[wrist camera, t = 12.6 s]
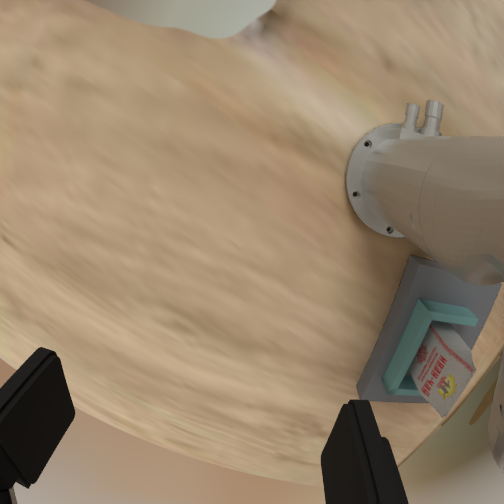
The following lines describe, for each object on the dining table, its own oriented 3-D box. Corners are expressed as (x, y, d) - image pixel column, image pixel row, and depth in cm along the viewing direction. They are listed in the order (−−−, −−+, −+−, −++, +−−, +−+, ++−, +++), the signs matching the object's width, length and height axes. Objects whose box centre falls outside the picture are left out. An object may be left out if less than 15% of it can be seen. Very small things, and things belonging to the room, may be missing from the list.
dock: (409, 255, 35) (430, 274, 29) (490, 275, 34) (513, 293, 29) (356, 386, 41) (364, 415, 35) (433, 390, 41) (446, 416, 35)
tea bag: (449, 323, 34) (486, 370, 24) (427, 366, 36) (455, 417, 27) (427, 320, 34) (463, 369, 24) (405, 364, 36) (431, 418, 27)
